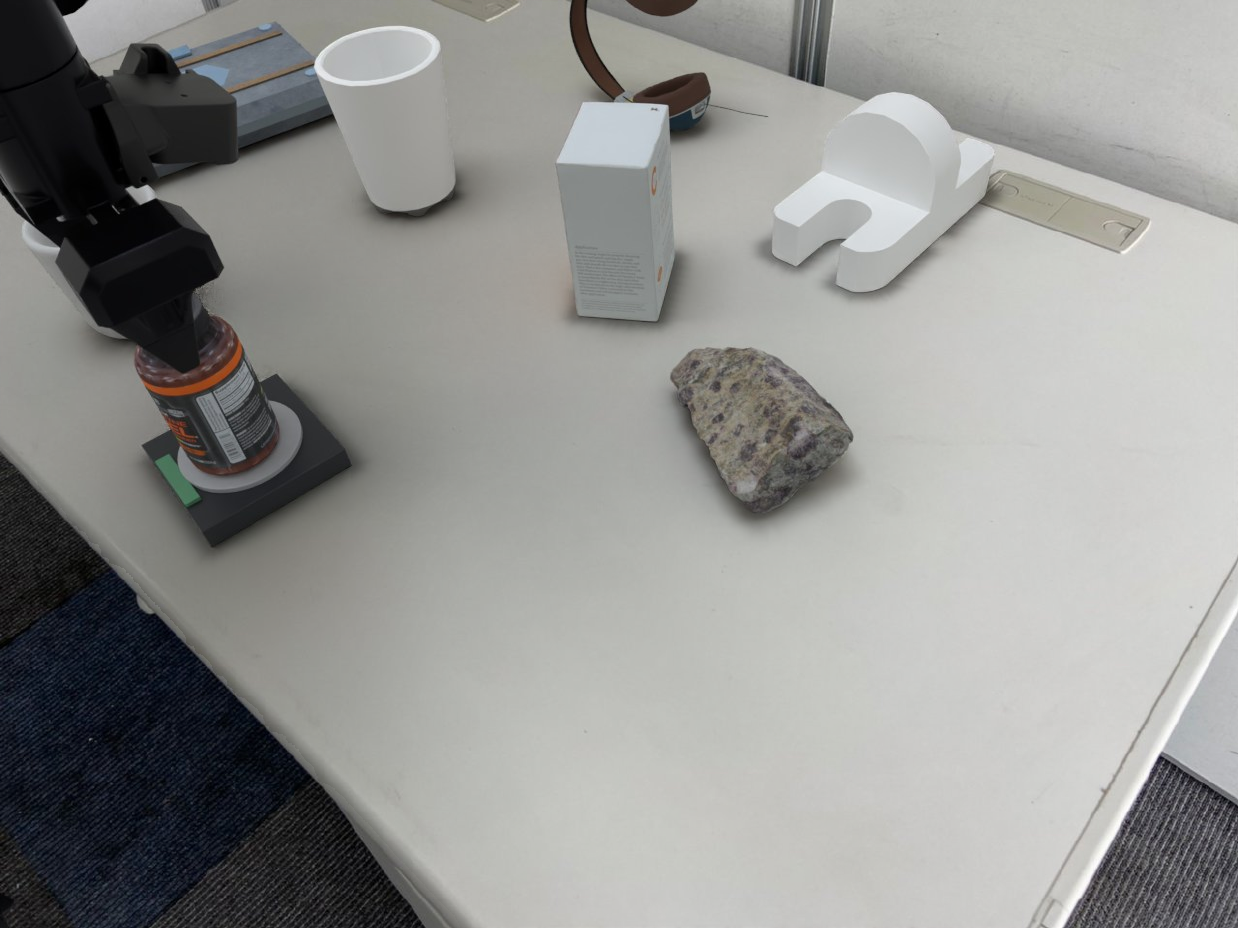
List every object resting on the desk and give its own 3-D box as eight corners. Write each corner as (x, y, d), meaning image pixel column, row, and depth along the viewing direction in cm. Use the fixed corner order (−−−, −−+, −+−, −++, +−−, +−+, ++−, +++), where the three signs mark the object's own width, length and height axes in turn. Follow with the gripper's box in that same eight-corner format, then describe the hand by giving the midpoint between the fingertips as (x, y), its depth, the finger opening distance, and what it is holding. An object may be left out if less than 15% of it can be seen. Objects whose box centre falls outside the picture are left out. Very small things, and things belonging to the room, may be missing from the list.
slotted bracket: (870, 299, 72) (887, 182, 64) (764, 252, 76) (769, 138, 69) (992, 188, 80) (1020, 73, 72) (890, 152, 85) (907, 40, 77)
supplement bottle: (172, 455, 63) (88, 320, 55) (244, 401, 66) (176, 265, 58) (228, 494, 61) (150, 359, 52) (302, 436, 64) (239, 299, 55)
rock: (767, 539, 58) (886, 440, 60) (744, 471, 54) (871, 369, 56) (642, 451, 67) (749, 369, 70) (615, 388, 63) (729, 304, 66)
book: (135, 196, 89) (110, 146, 85) (91, 125, 98) (66, 77, 94) (347, 117, 95) (332, 68, 92) (287, 58, 105) (271, 11, 101)
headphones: (791, 134, 86) (610, 88, 98) (786, -50, 75) (584, -76, 87) (748, 166, 83) (567, 115, 95) (736, -20, 72) (534, -51, 84)
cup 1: (64, 286, 80) (1, 186, 73) (176, 244, 83) (126, 143, 76) (98, 371, 73) (32, 268, 66) (220, 321, 75) (169, 217, 68)
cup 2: (363, 238, 82) (317, 95, 72) (353, 178, 88) (309, 39, 78) (479, 213, 83) (449, 69, 73) (461, 155, 89) (431, 16, 80)
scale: (211, 548, 60) (199, 528, 59) (151, 460, 66) (138, 440, 64) (352, 465, 64) (343, 444, 63) (283, 389, 70) (274, 368, 68)
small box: (597, 252, 78) (581, 99, 68) (676, 257, 77) (671, 102, 67) (574, 317, 73) (553, 162, 63) (658, 324, 72) (649, 166, 62)
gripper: (264, 66, 42) (362, 341, 54) (112, -46, 52) (221, 205, 64) (3, 169, 38) (170, 443, 49) (-107, 25, 48) (53, 280, 60)
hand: (158, 329), depth 56 cm, fingers open, 9 cm apart
